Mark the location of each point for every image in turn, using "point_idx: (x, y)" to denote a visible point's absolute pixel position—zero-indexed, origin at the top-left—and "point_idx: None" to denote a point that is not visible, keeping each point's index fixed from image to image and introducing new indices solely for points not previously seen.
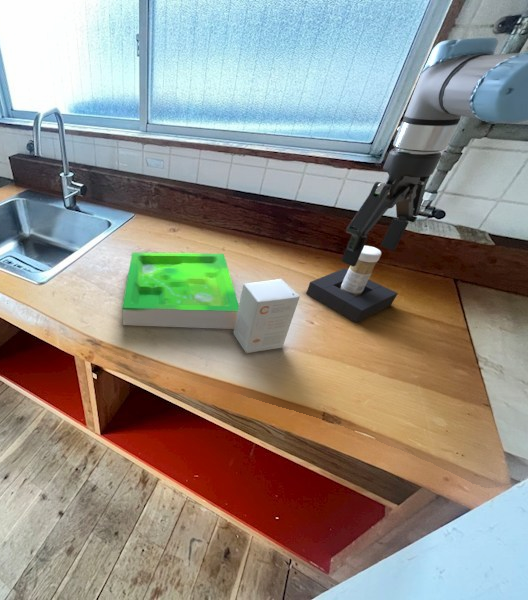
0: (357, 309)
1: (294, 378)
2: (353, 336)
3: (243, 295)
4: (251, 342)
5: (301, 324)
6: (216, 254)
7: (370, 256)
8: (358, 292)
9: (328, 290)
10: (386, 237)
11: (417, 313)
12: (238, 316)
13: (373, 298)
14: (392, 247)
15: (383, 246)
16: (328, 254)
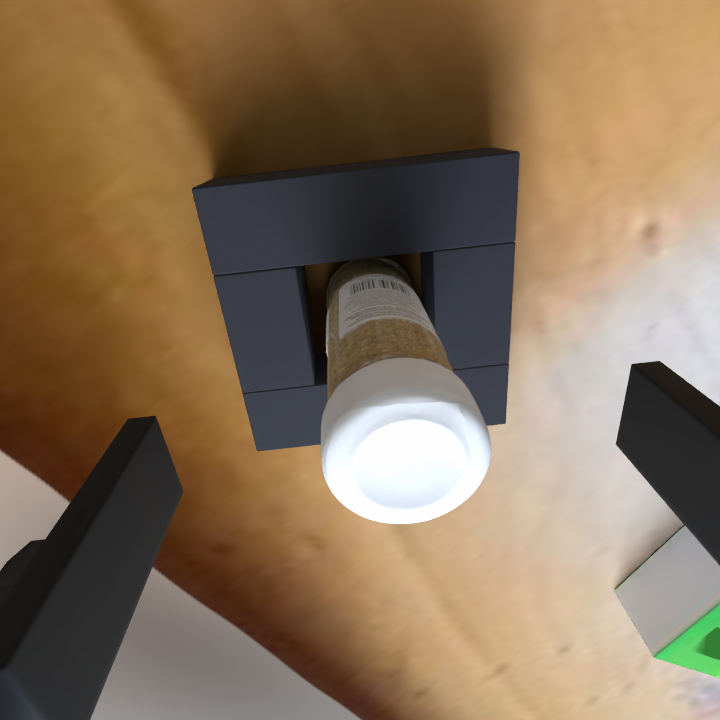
0: (515, 175)
1: None
2: (594, 74)
3: None
4: None
5: (693, 240)
6: (680, 660)
7: (468, 402)
8: (390, 277)
9: (499, 345)
10: (151, 544)
11: (137, 66)
12: None
13: (365, 207)
14: (151, 441)
15: (174, 478)
16: (157, 554)
